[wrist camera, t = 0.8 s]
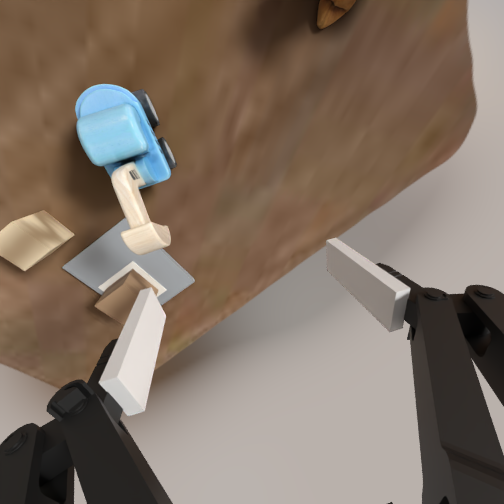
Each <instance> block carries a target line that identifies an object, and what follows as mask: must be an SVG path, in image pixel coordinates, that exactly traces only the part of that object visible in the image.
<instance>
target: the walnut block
mask: <svg viewBox="0 0 504 504" xmlns="http://www.w3.org/2000/svg"><path fill="white" fill-rule="evenodd" d="M151 287H152V289H153V291H154V293H155V295H156V296H157V293H158V289H157V288H156V287H154V286H153V285H152V284H151V283H150V282H148V281H147V280H146V279H145V278H143V277H142V276H141V275H140V274H139V273H137V272H136V271H135V270H134V269H132V270H130V271H129V272H128V273H126V274H125V275H124V276H122V277H121V278H120V279H118V280H117V281H116V282H114V283H113V284H112V285H110V286H109V287H108V288H107V289H106V290H105V292H104V293H103V294H102V296H101V297H100V299H99V300H98V301H97V303H96V304H95V307H96V308H98V309H99V310H101V311H102V312H104V313H105V314H107V315H108V316H110V317H111V318H113V319H114V320H116V321H117V322H119V323H120V324H122V325H123V326H124V325H125V323H126V321H127V319H128V317H129V314H130V312H131V310H132V308H133V305H134V303H135V301H136V299H137V297H138V294H139V292H140V290H143V289H147V288H151Z"/></svg>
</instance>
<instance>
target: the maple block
mask: <svg viewBox="0 0 504 504" xmlns="http://www.w3.org/2000/svg"><path fill="white" fill-rule="evenodd" d="M74 235H75V234H73V233H72V232H71V231H70V230H68V229H67V228H66V227H65V226H63V225H62V224H61V223H60V222H58V221H57V220H56V219H55V218H53V217H52V216H51V215H50V214H48V213H47V212H46V211H45V210H43V211H40V212H37V213H35V214H32V215H29V216H26V217H24V218H21V219H18V220H15V221H13V222H11V223H10V224H9V225H7V226H6V227H5V228H4V229H3V230H1V231H0V256H2V257H4V258H5V259H7V260H8V261H10V262H11V263H13V264H14V265H16V266H18V267H19V268H21V269H22V270H24V271H26V270H27V269H29V268H30V267H32V266H33V265H35V264H36V263H38V262H39V261H41V260H42V259H44V258H45V257H47V256H48V255H50V254H51V253H53V252H54V251H55V250H57V249H58V248H59V247H60V246H62V245H63V244H64V243H65V242H67V241H68V240H69V239H70V238H72V237H73V236H74Z"/></svg>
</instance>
